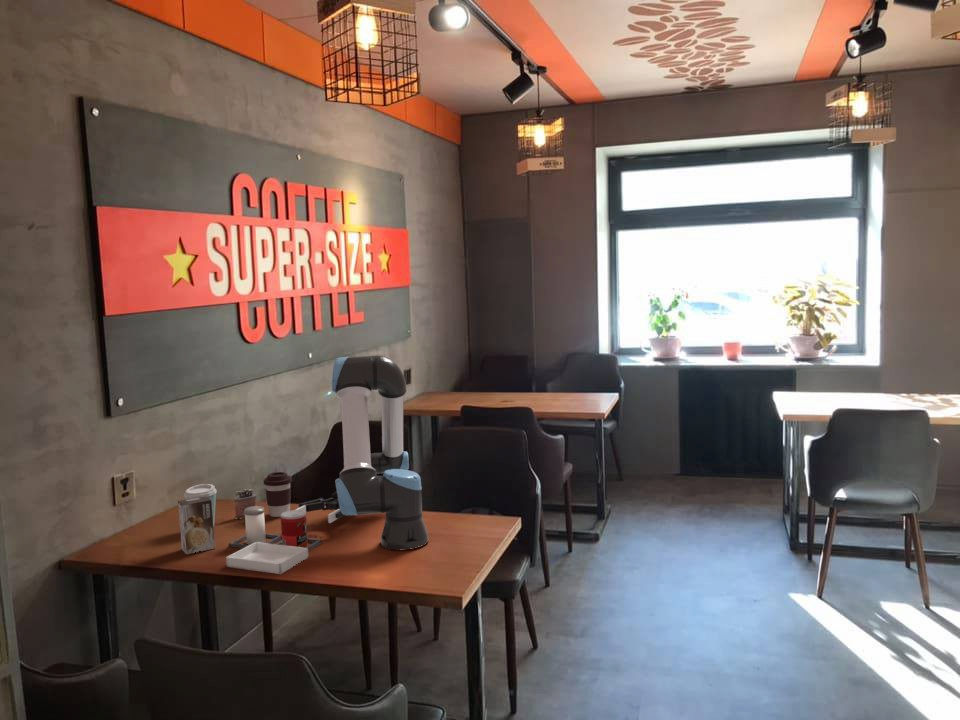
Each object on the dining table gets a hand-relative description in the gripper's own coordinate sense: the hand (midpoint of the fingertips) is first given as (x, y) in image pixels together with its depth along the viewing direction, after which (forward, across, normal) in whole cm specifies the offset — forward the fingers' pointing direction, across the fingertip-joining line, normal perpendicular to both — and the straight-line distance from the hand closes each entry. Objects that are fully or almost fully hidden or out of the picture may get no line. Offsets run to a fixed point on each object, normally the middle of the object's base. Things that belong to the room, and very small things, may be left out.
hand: (311, 517), depth 262 cm
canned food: (+10, 0, -7) cm, 12 cm away
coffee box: (+21, +29, -7) cm, 36 cm away
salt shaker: (+10, +15, -7) cm, 19 cm away
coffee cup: (-18, +26, -7) cm, 32 cm away
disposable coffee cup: (+5, +41, -7) cm, 42 cm away
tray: (+24, 0, -7) cm, 25 cm away
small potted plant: (-12, +36, -7) cm, 39 cm away
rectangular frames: (+10, +7, -7) cm, 14 cm away
